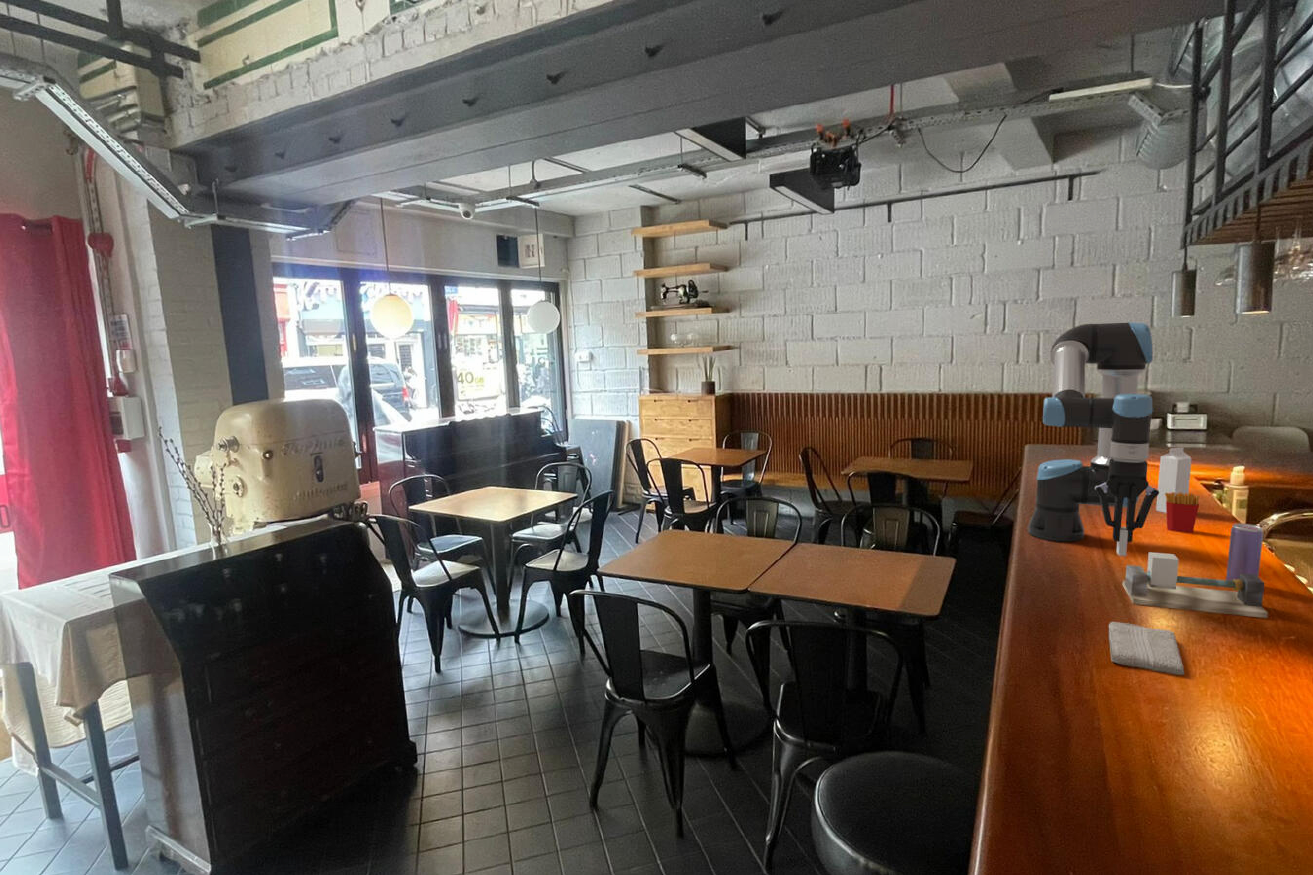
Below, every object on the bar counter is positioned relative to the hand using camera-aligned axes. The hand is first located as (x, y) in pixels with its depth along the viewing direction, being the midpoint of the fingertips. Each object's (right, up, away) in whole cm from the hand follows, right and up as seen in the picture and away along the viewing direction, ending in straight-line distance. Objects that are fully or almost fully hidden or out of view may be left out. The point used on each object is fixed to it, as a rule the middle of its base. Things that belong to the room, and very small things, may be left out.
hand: (1121, 554), depth 166 cm
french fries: (+49, -1, +46) cm, 68 cm away
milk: (+61, +3, +65) cm, 89 cm away
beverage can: (+33, -8, +4) cm, 34 cm away
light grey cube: (+8, -7, -2) cm, 11 cm away
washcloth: (-13, -16, -26) cm, 33 cm away
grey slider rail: (+14, -10, -4) cm, 18 cm away
